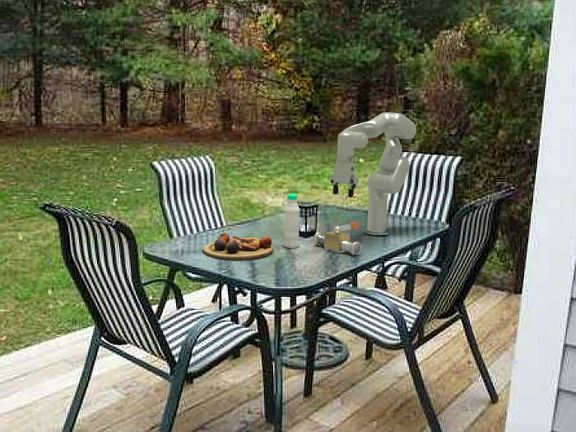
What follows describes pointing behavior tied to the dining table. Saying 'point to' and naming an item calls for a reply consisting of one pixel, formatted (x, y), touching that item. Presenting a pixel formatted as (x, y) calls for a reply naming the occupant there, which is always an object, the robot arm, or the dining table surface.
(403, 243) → the dining table surface
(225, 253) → the wooden plate with food
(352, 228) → the valve lever
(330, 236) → the valve pipe
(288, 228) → the water bottle
